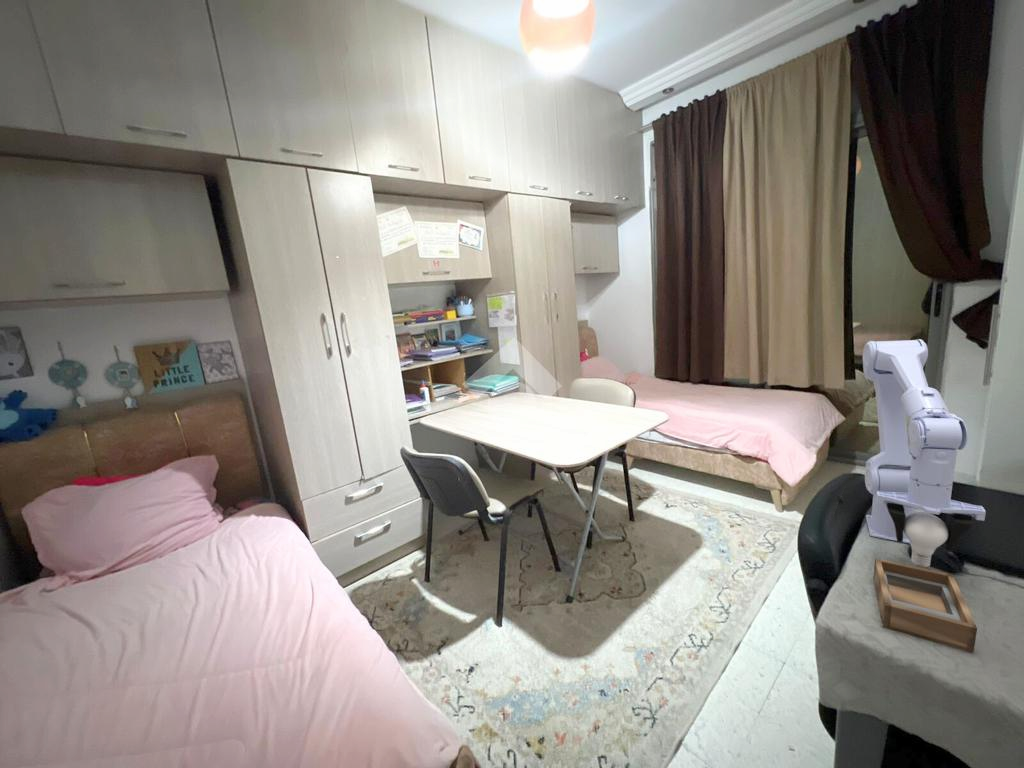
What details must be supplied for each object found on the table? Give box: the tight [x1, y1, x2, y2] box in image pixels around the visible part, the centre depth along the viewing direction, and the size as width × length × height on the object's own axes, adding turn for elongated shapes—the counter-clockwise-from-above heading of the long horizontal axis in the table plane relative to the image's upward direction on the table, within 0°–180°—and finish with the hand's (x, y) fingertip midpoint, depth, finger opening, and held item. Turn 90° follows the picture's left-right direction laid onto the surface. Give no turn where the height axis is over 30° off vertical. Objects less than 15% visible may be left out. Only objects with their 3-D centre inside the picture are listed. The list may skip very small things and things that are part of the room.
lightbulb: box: [903, 511, 949, 568], centre depth 80 cm, size 6×6×11 cm
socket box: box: [872, 557, 978, 654], centre depth 73 cm, size 14×11×4 cm
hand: (922, 543), depth 81 cm, fingers closed on lightbulb, 6 cm apart
